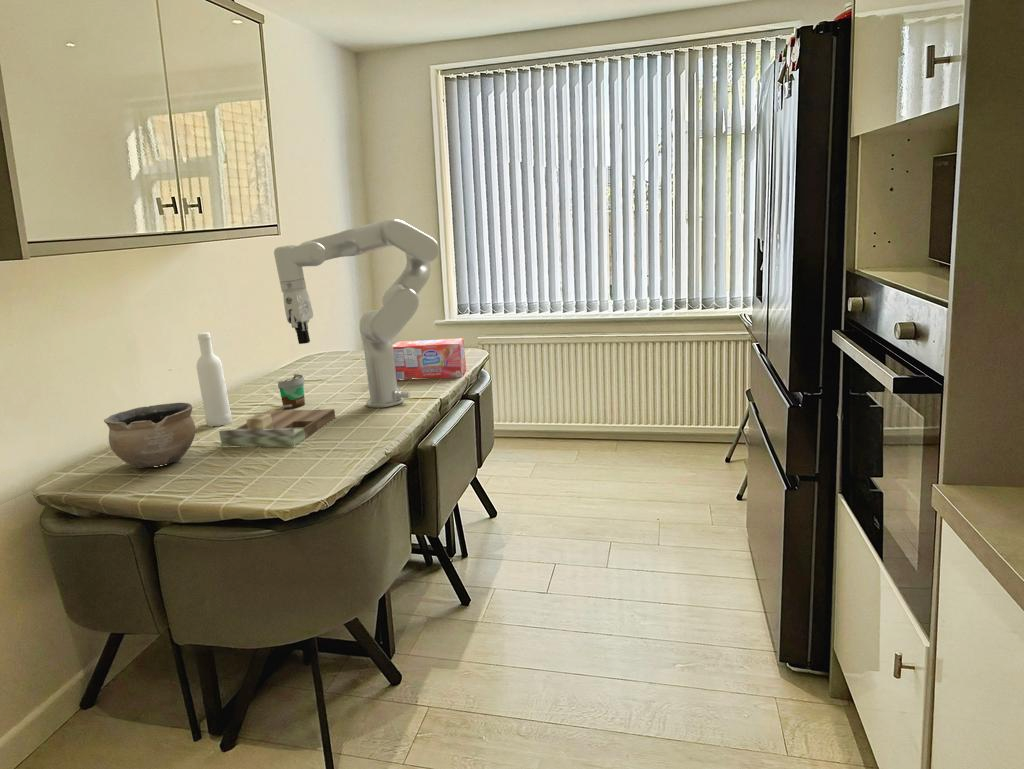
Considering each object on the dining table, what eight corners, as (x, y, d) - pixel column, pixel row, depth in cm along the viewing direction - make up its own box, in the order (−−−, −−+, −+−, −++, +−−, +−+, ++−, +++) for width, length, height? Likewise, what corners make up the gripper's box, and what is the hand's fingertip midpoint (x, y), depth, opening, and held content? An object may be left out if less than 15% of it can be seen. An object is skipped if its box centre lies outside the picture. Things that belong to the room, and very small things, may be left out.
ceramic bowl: (111, 483, 196) (99, 428, 192) (117, 460, 215) (106, 410, 212) (202, 465, 204) (192, 412, 201) (200, 445, 224) (191, 396, 220)
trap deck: (335, 418, 241) (333, 403, 240) (294, 446, 215) (291, 429, 214) (270, 419, 246) (267, 404, 245) (222, 447, 220) (219, 430, 218)
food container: (298, 410, 255) (294, 381, 253) (281, 410, 257) (277, 382, 254) (314, 400, 267) (310, 373, 265) (298, 401, 268) (294, 373, 266)
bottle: (207, 422, 249) (190, 333, 242) (232, 418, 252) (216, 330, 245) (206, 428, 242) (189, 336, 235) (232, 424, 244) (216, 333, 237)
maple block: (273, 430, 222) (270, 414, 221) (264, 435, 217) (262, 419, 216) (258, 430, 223) (255, 414, 222) (249, 435, 218) (246, 419, 217)
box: (467, 370, 297) (464, 335, 294) (462, 377, 285) (459, 341, 282) (400, 374, 300) (396, 340, 297) (393, 381, 288) (389, 346, 284)
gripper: (294, 288, 227) (305, 347, 232) (314, 281, 242) (324, 337, 246) (271, 290, 229) (283, 349, 233) (292, 283, 243) (303, 339, 248)
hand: (304, 342), depth 240 cm, fingers closed
